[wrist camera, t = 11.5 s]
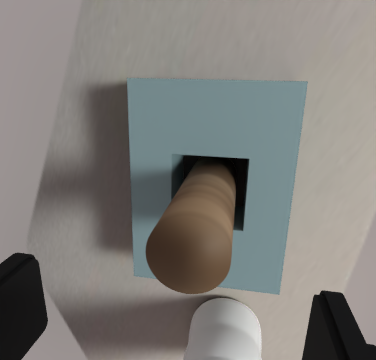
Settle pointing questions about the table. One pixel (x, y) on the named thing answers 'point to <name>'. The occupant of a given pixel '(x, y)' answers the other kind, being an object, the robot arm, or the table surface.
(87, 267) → the table surface
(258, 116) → the socket block
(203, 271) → the peg
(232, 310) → the water bottle
